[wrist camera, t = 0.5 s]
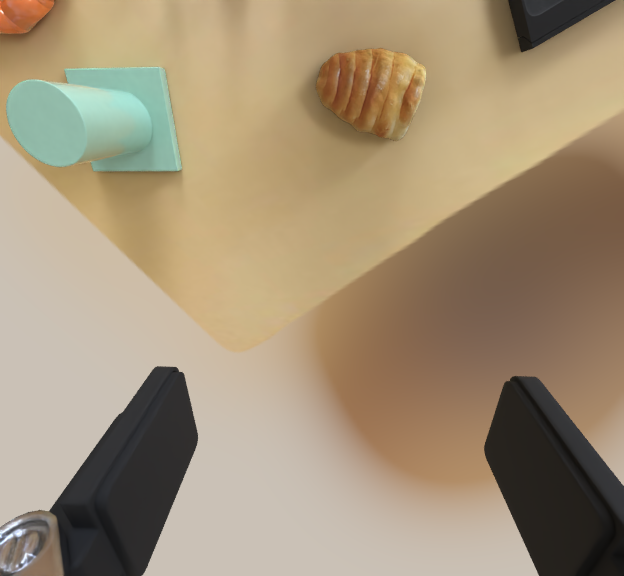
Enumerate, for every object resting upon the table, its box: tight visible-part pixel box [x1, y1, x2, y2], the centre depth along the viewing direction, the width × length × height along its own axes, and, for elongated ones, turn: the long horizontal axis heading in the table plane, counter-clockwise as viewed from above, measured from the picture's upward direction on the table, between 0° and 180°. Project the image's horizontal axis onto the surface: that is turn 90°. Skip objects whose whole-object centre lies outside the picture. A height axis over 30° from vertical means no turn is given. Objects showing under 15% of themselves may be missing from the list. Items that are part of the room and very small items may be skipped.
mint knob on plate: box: [6, 67, 182, 171], centre depth 29 cm, size 9×9×11 cm
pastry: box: [316, 48, 426, 141], centre depth 30 cm, size 9×7×4 cm
